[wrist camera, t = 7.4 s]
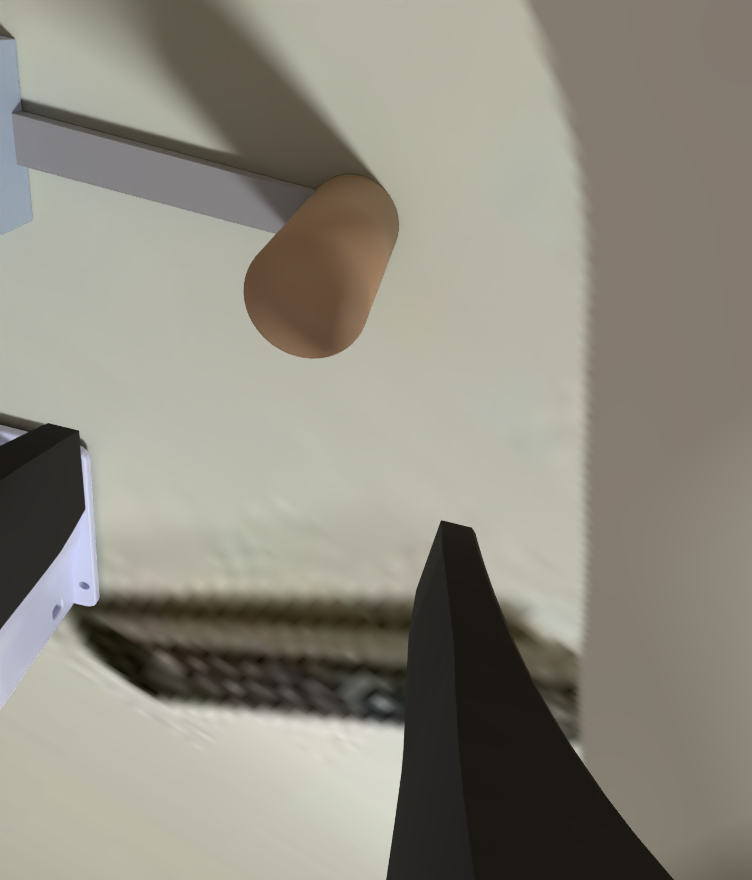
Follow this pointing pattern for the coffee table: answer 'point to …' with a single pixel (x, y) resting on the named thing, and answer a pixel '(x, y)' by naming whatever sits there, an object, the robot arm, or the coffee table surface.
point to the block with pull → (224, 218)
